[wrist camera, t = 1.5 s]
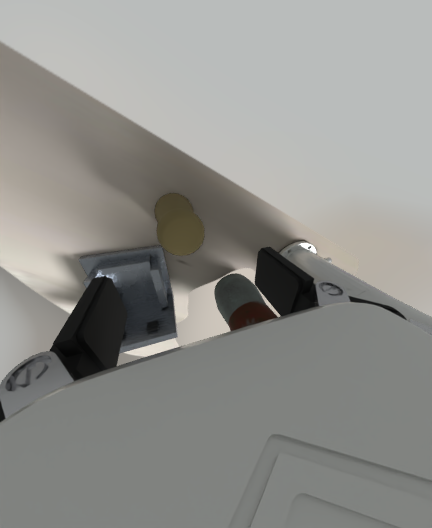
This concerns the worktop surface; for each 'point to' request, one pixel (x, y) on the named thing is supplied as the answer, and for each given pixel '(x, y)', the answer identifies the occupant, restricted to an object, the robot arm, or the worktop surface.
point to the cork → (178, 225)
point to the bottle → (241, 302)
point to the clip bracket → (138, 292)
